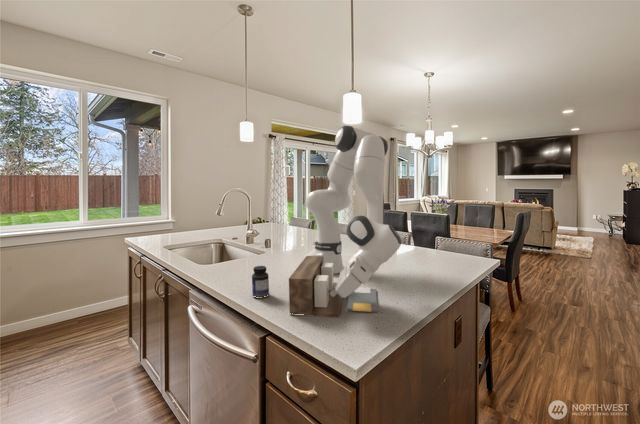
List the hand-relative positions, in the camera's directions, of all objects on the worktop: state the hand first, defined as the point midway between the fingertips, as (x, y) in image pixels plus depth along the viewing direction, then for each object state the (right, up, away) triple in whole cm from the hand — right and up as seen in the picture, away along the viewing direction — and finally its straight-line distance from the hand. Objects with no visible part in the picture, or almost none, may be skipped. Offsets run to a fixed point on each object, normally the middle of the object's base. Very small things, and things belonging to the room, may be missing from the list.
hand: (331, 293), depth 102 cm
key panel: (-4, -4, +9) cm, 11 cm away
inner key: (-1, -2, +17) cm, 17 cm away
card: (+11, -4, +7) cm, 14 cm away
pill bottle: (-26, -4, +12) cm, 29 cm away
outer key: (-3, -4, +1) cm, 5 cm away
